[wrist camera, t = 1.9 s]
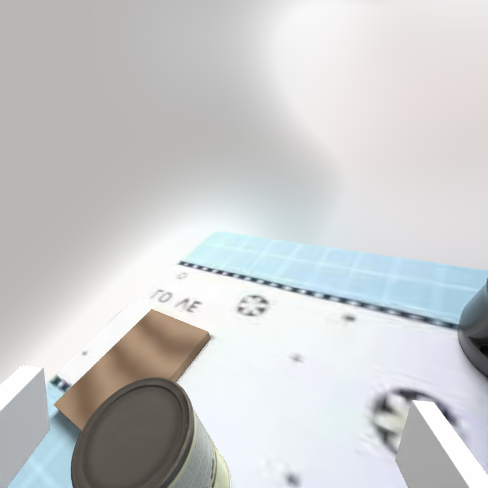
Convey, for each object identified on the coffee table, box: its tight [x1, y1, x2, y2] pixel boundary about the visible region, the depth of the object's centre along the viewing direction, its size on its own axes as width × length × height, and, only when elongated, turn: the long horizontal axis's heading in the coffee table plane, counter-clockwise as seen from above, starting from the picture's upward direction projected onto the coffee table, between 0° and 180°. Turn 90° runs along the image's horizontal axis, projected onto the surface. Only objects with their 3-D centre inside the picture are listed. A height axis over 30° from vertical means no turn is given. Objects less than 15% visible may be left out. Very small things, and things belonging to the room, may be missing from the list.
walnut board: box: [54, 309, 211, 431], centre depth 48 cm, size 20×14×2 cm
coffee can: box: [71, 377, 232, 488], centre depth 30 cm, size 10×10×14 cm
